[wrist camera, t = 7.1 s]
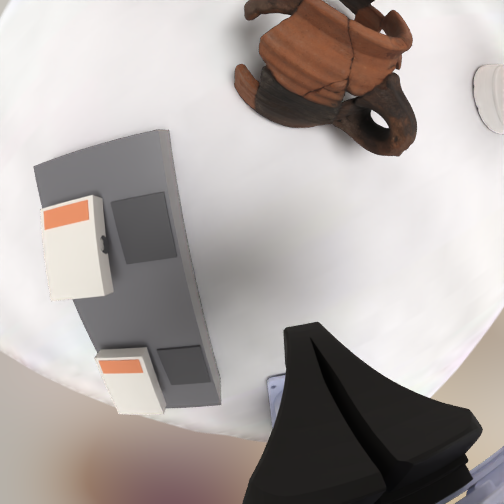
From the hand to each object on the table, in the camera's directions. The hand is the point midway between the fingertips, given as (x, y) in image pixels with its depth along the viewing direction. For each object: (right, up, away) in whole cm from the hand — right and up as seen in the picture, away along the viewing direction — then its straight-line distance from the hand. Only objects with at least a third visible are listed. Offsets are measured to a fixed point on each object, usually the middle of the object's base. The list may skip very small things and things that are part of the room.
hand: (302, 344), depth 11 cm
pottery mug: (+2, +15, +5) cm, 16 cm away
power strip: (-10, +1, +9) cm, 13 cm away
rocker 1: (-11, +4, +3) cm, 12 cm away
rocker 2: (-10, -5, +7) cm, 13 cm away
